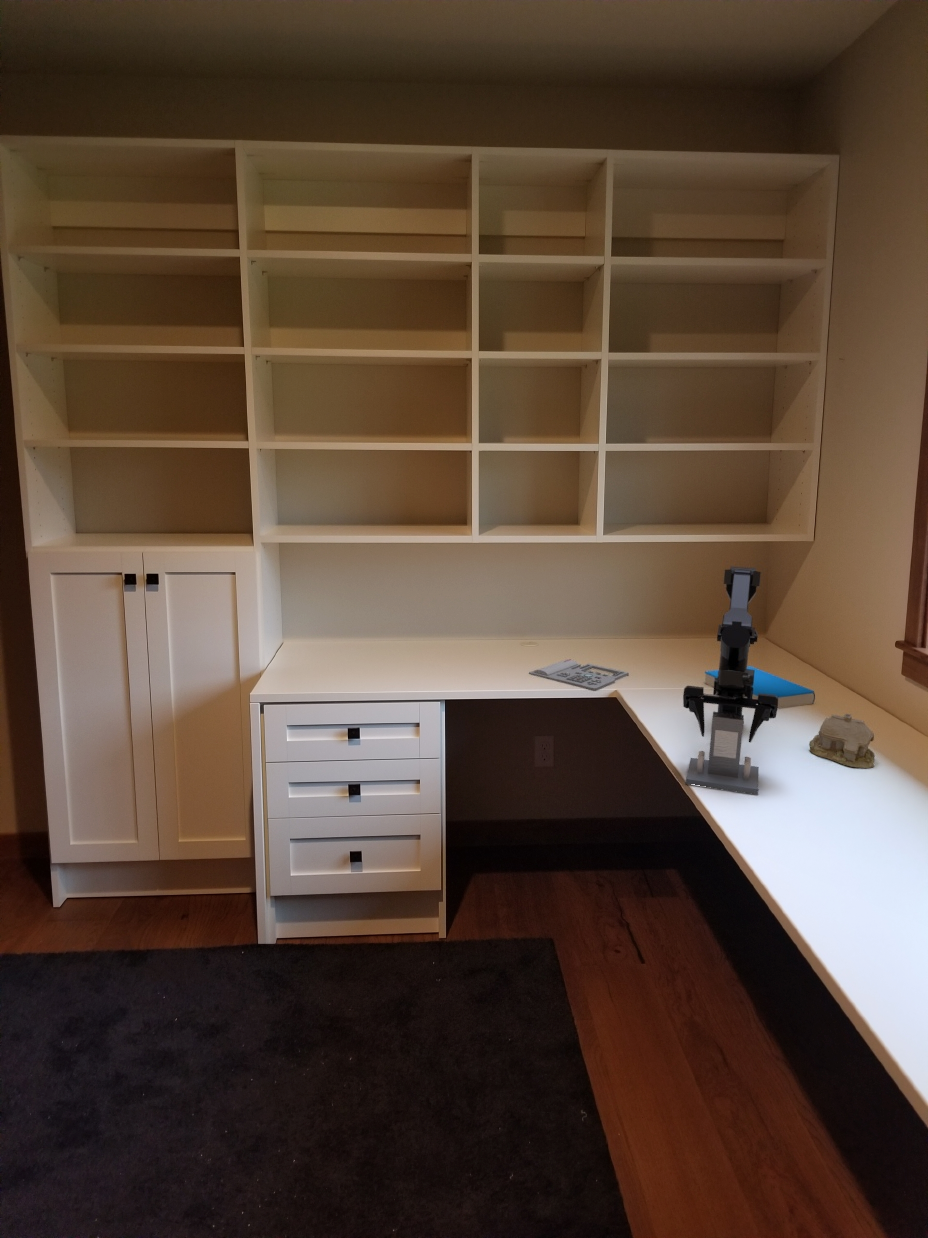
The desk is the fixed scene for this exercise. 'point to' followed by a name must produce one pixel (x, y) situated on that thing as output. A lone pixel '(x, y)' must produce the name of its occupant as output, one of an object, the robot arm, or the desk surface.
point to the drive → (725, 744)
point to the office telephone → (579, 674)
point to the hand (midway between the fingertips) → (726, 738)
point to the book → (773, 688)
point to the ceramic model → (844, 741)
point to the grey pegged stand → (743, 783)
